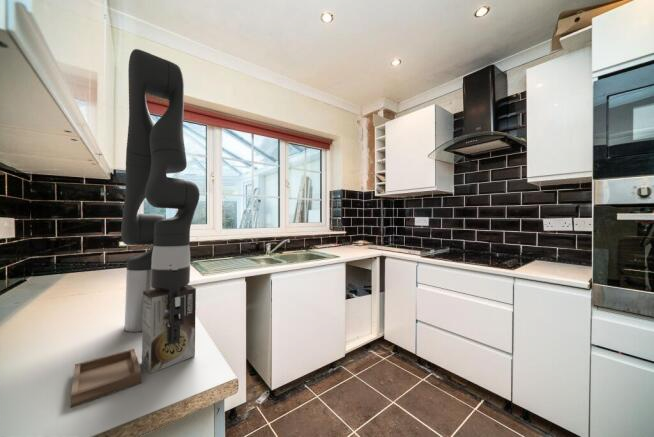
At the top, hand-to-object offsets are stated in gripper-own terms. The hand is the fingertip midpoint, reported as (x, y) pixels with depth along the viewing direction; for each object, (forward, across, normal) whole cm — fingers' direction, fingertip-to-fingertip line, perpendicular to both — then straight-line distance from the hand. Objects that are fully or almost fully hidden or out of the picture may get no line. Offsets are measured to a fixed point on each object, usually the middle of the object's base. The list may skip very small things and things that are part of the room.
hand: (169, 335), depth 57 cm
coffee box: (+6, 0, 0) cm, 6 cm away
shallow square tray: (+5, 0, -10) cm, 12 cm away
